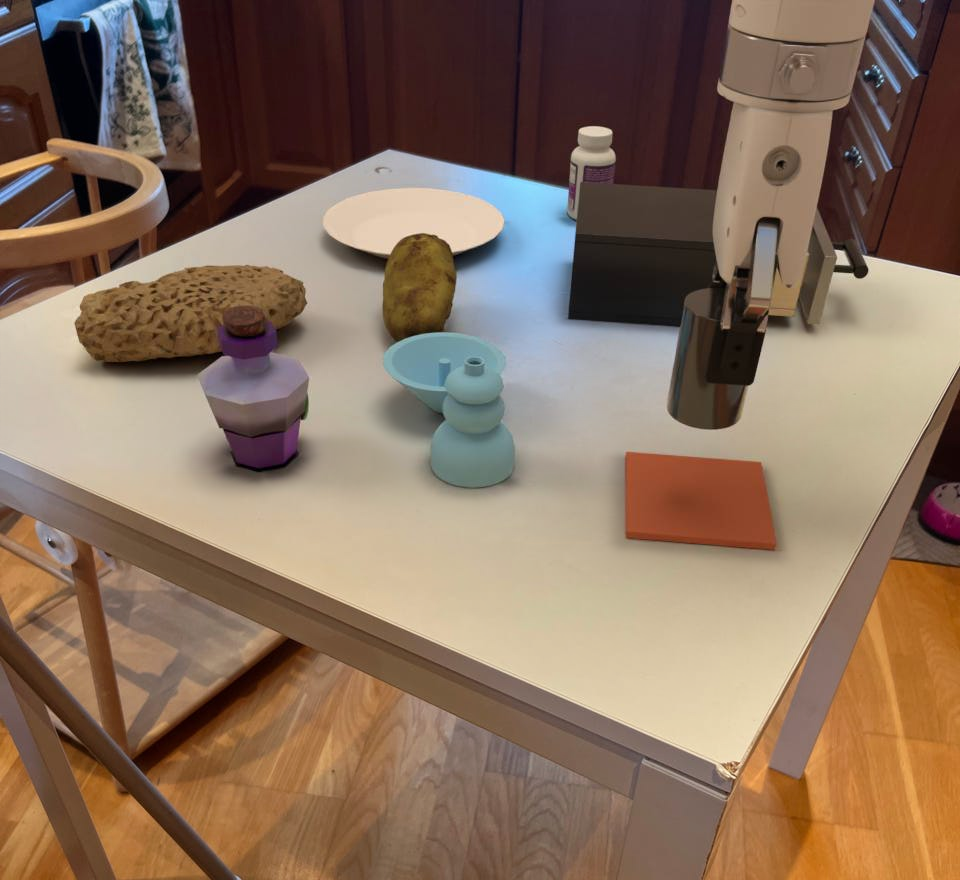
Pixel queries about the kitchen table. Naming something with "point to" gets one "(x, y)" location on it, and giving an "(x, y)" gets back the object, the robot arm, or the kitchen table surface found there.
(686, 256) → the dark brown box
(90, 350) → the sponge
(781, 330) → the kitchen table surface
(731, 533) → the mat
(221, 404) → the potion bottle
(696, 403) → the dark glossy cylinder
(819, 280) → the drawer
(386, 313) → the potato
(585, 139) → the pill bottle
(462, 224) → the plate
